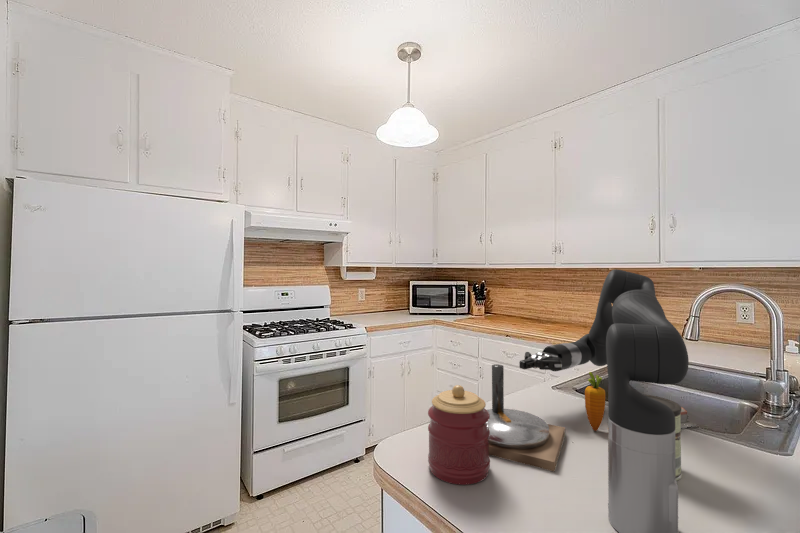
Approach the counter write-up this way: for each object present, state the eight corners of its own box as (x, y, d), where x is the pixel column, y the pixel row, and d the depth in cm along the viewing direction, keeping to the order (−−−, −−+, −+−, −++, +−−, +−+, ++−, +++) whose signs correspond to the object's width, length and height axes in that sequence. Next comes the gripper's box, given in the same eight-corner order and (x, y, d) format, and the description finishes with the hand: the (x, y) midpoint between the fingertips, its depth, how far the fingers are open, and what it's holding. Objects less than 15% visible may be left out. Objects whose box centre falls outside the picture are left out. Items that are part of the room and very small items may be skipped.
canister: (415, 466, 79) (415, 384, 79) (455, 447, 87) (455, 373, 87) (462, 495, 69) (461, 401, 69) (502, 470, 77) (502, 386, 77)
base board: (565, 435, 93) (565, 426, 93) (554, 471, 76) (554, 460, 76) (477, 416, 104) (477, 408, 104) (451, 445, 88) (451, 435, 88)
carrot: (609, 436, 92) (608, 376, 92) (587, 434, 93) (587, 375, 93) (602, 427, 97) (602, 371, 97) (582, 426, 98) (581, 370, 98)
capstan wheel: (564, 446, 83) (564, 384, 83) (488, 451, 80) (487, 387, 80) (527, 414, 101) (526, 363, 101) (463, 417, 98) (463, 365, 98)
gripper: (543, 340, 117) (503, 347, 108) (581, 348, 105) (541, 357, 97) (543, 363, 117) (504, 372, 108) (582, 374, 105) (541, 385, 97)
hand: (521, 365), depth 103 cm, fingers closed
